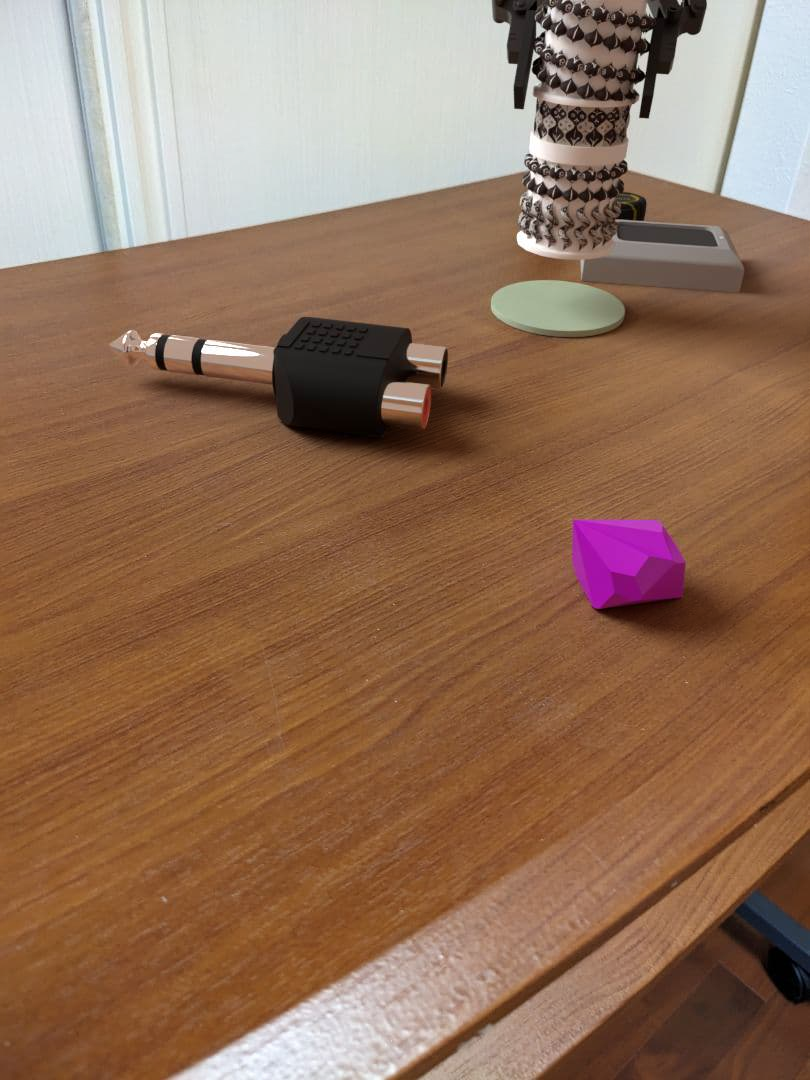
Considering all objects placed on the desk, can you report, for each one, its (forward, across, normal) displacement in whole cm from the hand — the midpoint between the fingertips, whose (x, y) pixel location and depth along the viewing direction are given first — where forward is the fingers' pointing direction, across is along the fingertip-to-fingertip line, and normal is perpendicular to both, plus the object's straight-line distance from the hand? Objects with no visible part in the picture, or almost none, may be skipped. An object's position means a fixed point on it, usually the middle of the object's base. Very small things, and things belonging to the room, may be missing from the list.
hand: (581, 102), depth 70 cm
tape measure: (-8, -4, -33) cm, 34 cm away
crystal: (+39, -7, +13) cm, 41 cm away
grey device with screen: (+1, -9, -25) cm, 26 cm away
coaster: (+10, 0, -15) cm, 18 cm away
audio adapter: (+27, +19, +1) cm, 33 cm away
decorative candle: (+6, 0, -11) cm, 12 cm away
